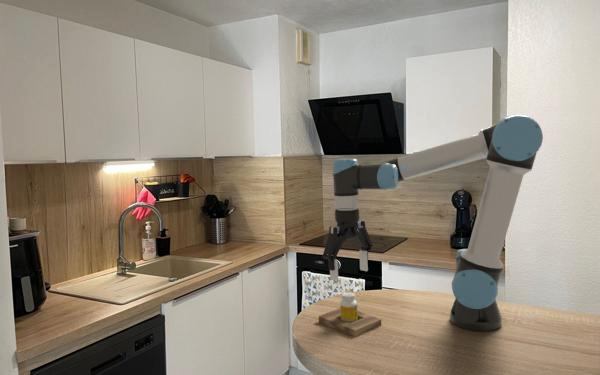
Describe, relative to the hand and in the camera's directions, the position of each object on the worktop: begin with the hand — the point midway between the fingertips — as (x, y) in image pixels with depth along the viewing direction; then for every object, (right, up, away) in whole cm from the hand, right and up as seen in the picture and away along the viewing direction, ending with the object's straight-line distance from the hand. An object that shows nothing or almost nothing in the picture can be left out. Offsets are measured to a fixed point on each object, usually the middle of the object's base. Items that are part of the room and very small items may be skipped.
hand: (349, 275), depth 146 cm
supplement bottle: (0, -16, +2) cm, 16 cm away
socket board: (0, -16, +2) cm, 16 cm away
